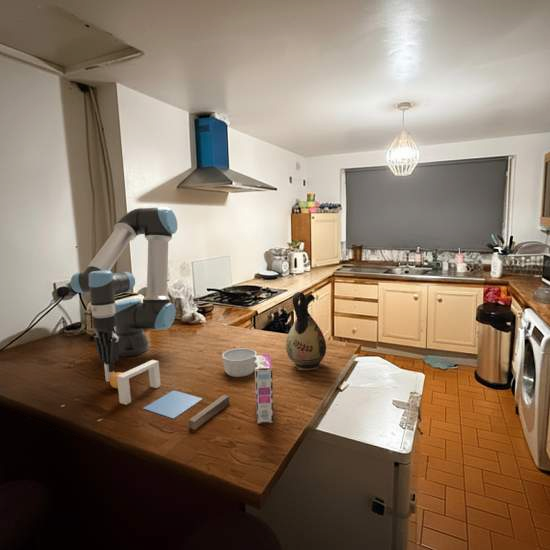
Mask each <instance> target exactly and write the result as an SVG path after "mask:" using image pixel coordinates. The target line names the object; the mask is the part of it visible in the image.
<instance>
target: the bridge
mask: <svg viewBox="0 0 550 550" xmlns="http://www.w3.org/2000/svg"><path fill="white" fill-rule="evenodd" d="M159 362H160V361H159V360H155V359H150V360H148V361H146V362H145V363H142V364H140V365H138V366H136V367H133V368H130V369H129V370H127V371H124V372H122V374H120V375H118V376H117V382H118V389H117V391H118V400H119V404H122V405H124V406H125V405H126V406H127V405H128V404H130V403H132V397H131V386H130V379H131V378H133V377H135V376H138V375H139V374H141V373H145V372H146V371H148V378H149V387H150V388H154V389H157V388H159V387H161V385H162V384H161V375H160V364H159Z"/></svg>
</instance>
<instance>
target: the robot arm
mask: <svg viewBox="0 0 550 550" xmlns="http://www.w3.org/2000/svg"><path fill="white" fill-rule="evenodd" d="M177 230H178V220H177V217H176V215H175V213H174V211H173V210H172V209H171V208H169V207H161V206H158V207H145V208H144V207H139V208H135V209H132V210H130V211H128V212H127V213H126V214H124V215H123V216H122V217H120V219H119V220H118V221H117V222H116V223H115V224H114V226H113V231H112V233H111V235H109V237H108V238H107V240H106V241H105V243H104V244H103V245H102V246H101V248H100V249H99V251H98V252H97V254H96V255H94V257H93V259H92V260H91V261H90V263H89V264H88V265H87V267H86V268H85V270H83V272H76V273H74V274H73V275H72V276H71V278H70V287H71V289H72V290H73V291H74V292H76V293H80V294H81V293H82V294H89V296H90V304H91V305H90V306H91V307H90V308H91V309H90V310H91V315H92V316H93V317H92V325H93V326H92V327H93V328H94V329H96V331H95V332H94V333H93V332H92V334H91V336H92V337H93V341H94V344H95V348H96V351H97V356H98V360H100V361H102V363H103V369H104V370H103V371H104V376H105V382H108V383H110V379H111V377H112V375H113V374H115V373H116V372H115V370H116V369H115V362H116V363H117V362H118V361H119V357H130V356H136V355H140V354H143V353H145V352H147V351H148V350H149V349H150V344H149V341H148V338H147V336H146V334H145V333H144V332H145V331H144V330H155V331H159V330H167V329H169V328H170V327H171V326H172V325H173V323H174V321H175V318H176V308H175V307H176V306H175V304H173V303H172V302H171V298H170V296H168V271H169V270H168V269H169V242H170V241H171V240H172V239H173V235H174V234H176V232H177ZM140 235H144V238H145V239H146V240H147V265H146V267H147V269H146V270H147V274H146V275H147V276H146V295H145V297H143V298H142V300H141V298H132V299H127V300H122V301H119V302H116V300H115V298H116V297H115V295H120V294H124V293H127V292H129V291H131V290H133V289H134V287H135V285H136V278H135V277H134V274H132V273H131V272H129V271H119V272H113V271H112V268H113V267H114V266H115V264H116V262H117V261H118V259H119V258H120V256H121V255H122V254H123V253H124V250H125V249H126V248H127V246H128V245H129V243H130V242H131V241H134V240H135V239H136V237H137V236H140Z"/></svg>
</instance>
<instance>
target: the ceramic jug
mask: <svg viewBox="0 0 550 550" xmlns="http://www.w3.org/2000/svg"><path fill="white" fill-rule="evenodd" d="M314 300H315V295H313V294H311V293H308V294H304V293H303V292H300V291H298V292H295V293H294V294H293V295H292V305H293V310H294V312H295V317H296V318H295V319H296V320H295V321H294V322H293V324H292V326H291V328H290V330H289V331H288V334H287V337H286V342H285V343H286V345H285V349H286V353H287V356H288V357H289V359H290V360H291V362H292V363H294V366H295V367H296V369H297V370H299V371H314V370H317V369H319V368H320V367H321V365H320V363H321V362H322V360H324V358H325V356H326V352H327V343H326V338H325V336H324V334H323V331H322V329H321V328H320V326H319V325H318V323H317V322H316V321H315V320H314V318H313V317H312V316H311V314H310V313H309V310H308V309H309V305H310V304H311V303H312V302H313V301H314Z"/></svg>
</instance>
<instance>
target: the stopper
mask: <svg viewBox="0 0 550 550" xmlns="http://www.w3.org/2000/svg"><path fill="white" fill-rule="evenodd" d="M229 404H230V396H229V395H227V394H226V395H225V394H223V395H221V396H220V397H219V398H218V399H216V400H214V401H213V402H212V403H210V404H209V405H207V406H206V407H205V408H203V409H202V410H200V411H199V412H198V413H196V414H195V415H193V416H192V417H191V418H189V419H188V427H189V429H191V430H193V431H196V430H197V429H198V428H200V427H201V426H202V425H204V424H206V422H207V421H209V420H210V419H211V418H213V417H214V416H215V415H216V414H218V413H219V412H220V411H221V410H223V409H224V408H225V407H227V406H228V405H229Z"/></svg>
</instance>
